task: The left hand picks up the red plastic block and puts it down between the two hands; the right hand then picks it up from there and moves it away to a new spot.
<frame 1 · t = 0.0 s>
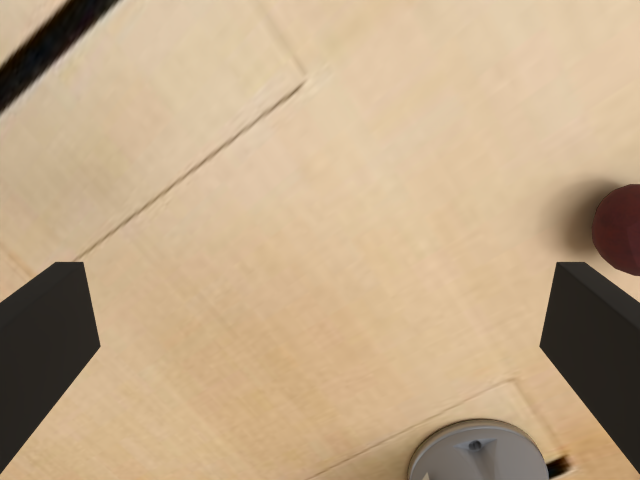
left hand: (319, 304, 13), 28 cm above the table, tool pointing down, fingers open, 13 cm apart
maroon round ball: (614, 215, 41), on the table
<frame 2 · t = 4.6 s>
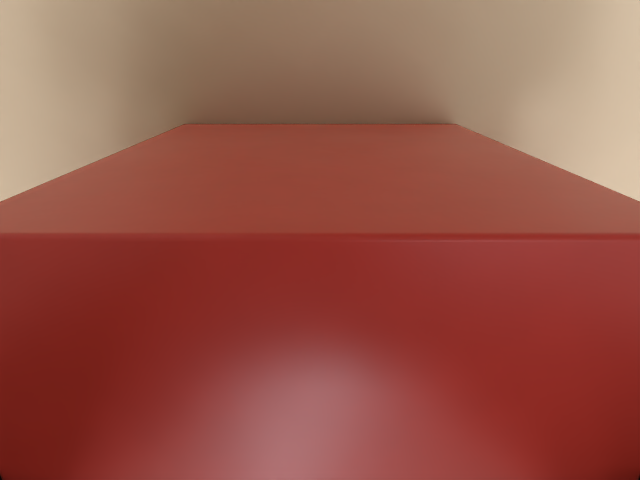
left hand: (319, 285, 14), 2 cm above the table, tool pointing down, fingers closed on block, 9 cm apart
block: (320, 254, 16), on the table, touching left hand
when the left hand's fingers open (4 cm above the table, at t = 13.8 s): block drops 2 cm, on the table.
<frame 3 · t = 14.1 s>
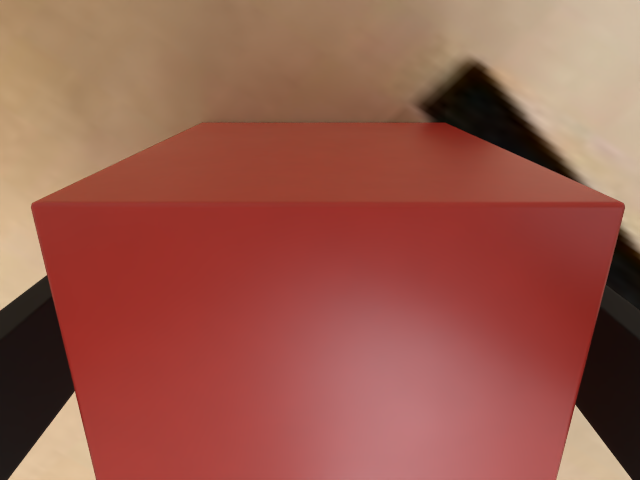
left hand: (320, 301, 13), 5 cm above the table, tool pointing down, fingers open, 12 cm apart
block: (323, 240, 18), on the table
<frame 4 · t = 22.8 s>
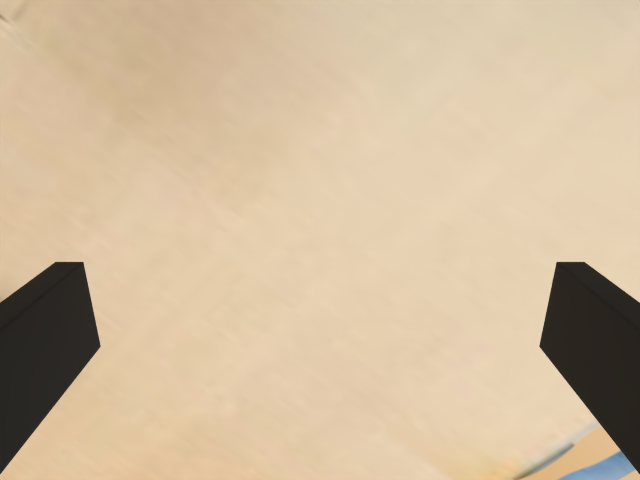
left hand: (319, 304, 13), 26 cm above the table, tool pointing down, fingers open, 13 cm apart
when the right hand's fingers open (4 cm above the table, at t = 27.6 s): block drops 2 cm, on the table.
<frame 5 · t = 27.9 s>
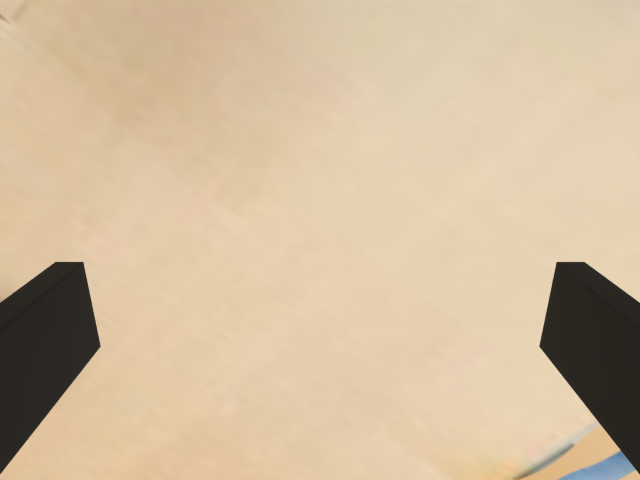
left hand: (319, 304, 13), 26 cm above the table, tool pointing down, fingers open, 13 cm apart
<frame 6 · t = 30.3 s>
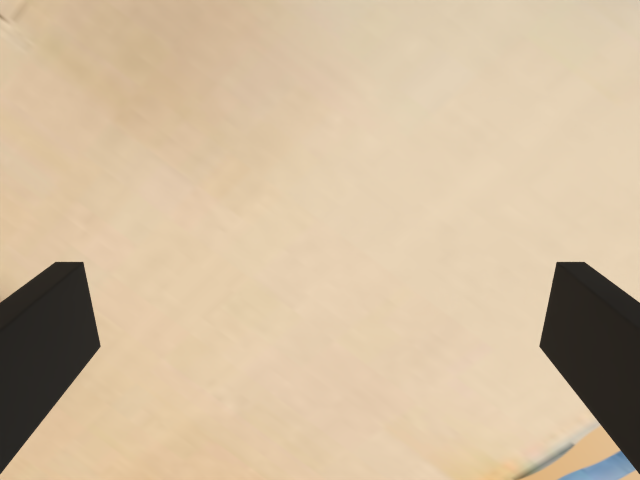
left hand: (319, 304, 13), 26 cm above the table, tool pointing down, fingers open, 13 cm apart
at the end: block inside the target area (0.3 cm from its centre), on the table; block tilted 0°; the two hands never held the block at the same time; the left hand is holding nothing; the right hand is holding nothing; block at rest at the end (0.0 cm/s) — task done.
